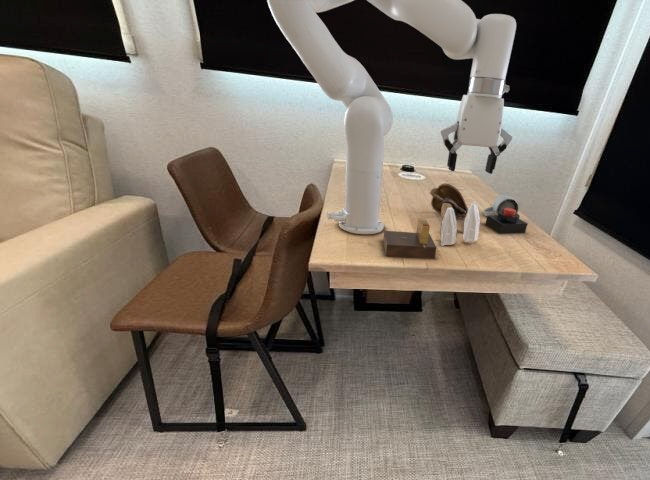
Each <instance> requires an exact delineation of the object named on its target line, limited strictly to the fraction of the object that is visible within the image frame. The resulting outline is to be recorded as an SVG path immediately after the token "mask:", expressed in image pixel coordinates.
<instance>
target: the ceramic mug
mask: <svg viewBox="0 0 650 480" xmlns="http://www.w3.org/2000/svg"><path fill="white" fill-rule="evenodd" d="M505 208H511V209H514V210H516V213H517V214H519V211H520V205H519V202H518V201H517V200H516V199H514V198H513V197H512V196H510V195H507V194H502V195H499V196H498V197H496V198H495V199H494V201H493V204H492V206H489V207H487V208H485V209H484V210H483V215H484V216H485V217H487V216H488V215H498V212H499V211H504V209H505Z"/></svg>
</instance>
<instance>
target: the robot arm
mask: <svg viewBox="0 0 650 480" xmlns="http://www.w3.org/2000/svg"><path fill="white" fill-rule="evenodd" d="M354 1H355V0H266V2H267V5H268V8H269V10H270V12H271V16H272V17H273V19H274V21H275V23H276V25H277V27H278V28H279V30H280V32H281V33H282V34H283V36H284V38H285V39H286V40H287V41H288V43H289V44H290V45H291V47H292V49H293V50H294V51H295V53H296V54H297V55H298V57H299V58H300V60H301V62H302V63H303V65H304V66H305V67H306V69H307V70H308V71H309V73H310V74H311V75H312V77H313V78H314V80H315V81H316V83H317V84H318V85H319V87H320V88H321V90H322V91H323V93H324V94H325V95H326V96H327V97H328V98H330V99H331V100H333V101H337V102H341V103H343V105H344V106H345V108H346V110H345V113H344V118H343V131H344V142H345V187H344V207H342V208H341V210H339V211H337V212H335V211H327V214H326V215H327V220H333V222H338V226H339V228H340V229H342V230H343V231H345V232H347V233H350V234H356V235H375V234H379V233H381V232H382V231H384V227H385V224H384V223H383V221H381V219H380V210H381V209H380V208H381V197H382V196H381V195H382V183H383V172H384V171H383V170H384V152H385V150H384V147H385V146H384V145H385V144H384V143H385V142H384V140H385V136H386V135H387V134H388V133H389V132H390V131H391V129H392V126H393V124H394V123H393V122H394V116H393V110H392V108H391V106H390V104H389V103H388V101H387V99H386V98H385V97H384V95H383V93H382V92H381V91H380V89H379V88H378V86H377V84H376V83H375V82H374V80H373V78H372V77H371V75H370V74H369V73H368V71H367V70H366V68H365V67H364V65H362V64H361V62H360V61H358V60H357V58H355V57H353V56H351V55H348V54H347V53H346V52H345V51H344V50H343V49H342V48H341V46H340V45H339V44H338V42H337V40H335V37H333V35H332V34H331V32H330V30H329V29H328V27H327V26H326V24H325V22H323V20H322V19H321V18H320V17H319V15H318V14H317V13H323V12H328V11H330V10H333V9H335V8H338V7H340V6H343V5H346V4H349V3H352V2H354ZM366 1H367V2H368V3H370V4H371V5H372V6H374V7H375V8H377V9H378V10H379V11H380V12H382V13H384V14H385V15H386V16H387V17H389V18H391V19H393V20H395V21H400V22H403V23H405V24H408V25H409V26H411V27H413V28H414V29H416V30H417V31H419V32H420V33H421V34H423V35H424V36H425V37H427V38H428V39H430V40H431V41H433V42H434V43H435V44H437V45H438V46H439V47H440V48H441V49H442V52H443V53H444V54H445V55H446V56H447V57H448V58H450V59H452V60H466V59H467V60H469V59H472V64H471V69H470V75H469V81H468V87H467V94H463V95H462V97H461V101H460V104H459V109H458V112H457V116H456V119H455V123H454V124H451V125H449V126H448V127H446V128H444V129H442V130H440V135H441V139H442V142H443V145H444V146H445V147H446V149H447V151H448V157H447V164H446V165H447V167H448V170H449V171H451V172H455V171H456V165H457V158H458V153H457V151H458V150H459V149H460V148H461V147H462V146H470V147H483V148H488V150H489V152H490V153H489V154H488V156H487V160H486V165H485V169H484V171H485V172H486V173H487V174H489V175H491V174H493V173H494V172H493V171H494V170H495V168H496V166H497V165H496V164H497V160H498V157H500V156H501V154H502V153H503V152H505V150H506V149H507V146H509V144H510V143H511V142H512V140H513V136H512V134H511V135H510V134H509V133H508V132H507V131H506V130H505V129H504V128H503V127H502V125H503V120H504V108H505V107H504V105H505V99H504V98H502V97H503V96H504V94H505V93H506V94H507V93H509V91H510V85H507V84H506V83H507V81H506V77H507V74H508V68H509V63H510V59H511V54H512V50H513V45H514V40H515V35H516V31H517V22H516V21H517V20H516V19H515V18H514V16H511V15H509V14H503V13H490V14H487V15H484V16H483V17H482V18H481V19H480V18H477V17H476V14H475V12H474V11H473V9H471V7H470V6H469V5H468V4H467V3H466V2H465V1H463V0H366ZM452 133H453V136H452V139H453V142H451V140H450V138H449V137H450V134H452ZM501 138H502V139H503V140H502V142H501V143H499V142H500V139H501ZM498 144H499V145H498Z"/></svg>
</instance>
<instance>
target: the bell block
mask: <svg viewBox="0 0 650 480" xmlns="http://www.w3.org/2000/svg"><path fill="white" fill-rule="evenodd" d="M503 212H504V211H499V212H498V215H488V216H486V219H485V224H484V226H486V227H487V228H489V229H491V230H493V231H494V232H496V233H497V234H499V235H506V234H507V235H508V234H526V231H527V228H528V225H529V223H528V222H526V221H524V220H522V219H520V217H521V216H520V214H519V213H515V216H508V215H505V214H503Z"/></svg>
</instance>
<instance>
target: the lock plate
mask: <svg viewBox="0 0 650 480" xmlns="http://www.w3.org/2000/svg"><path fill="white" fill-rule="evenodd" d="M382 238H383V239H382V243H383V248H384V254H385V257H395V258H396V257H397V258H412V259H413V258H414V259H415V258H416V259H418V258H419V259H434V260H435V258H436V252H437V246H436V243H435V241H437V242H441V239H435V241H434V240H433V238H432V235H431V234H430V233H429V235H428V241H427V244H420V243H419V241H418V238H417V236H416V232H410V231H409V232H408V231H395V230H394V231H393V230H383V237H382Z"/></svg>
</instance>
